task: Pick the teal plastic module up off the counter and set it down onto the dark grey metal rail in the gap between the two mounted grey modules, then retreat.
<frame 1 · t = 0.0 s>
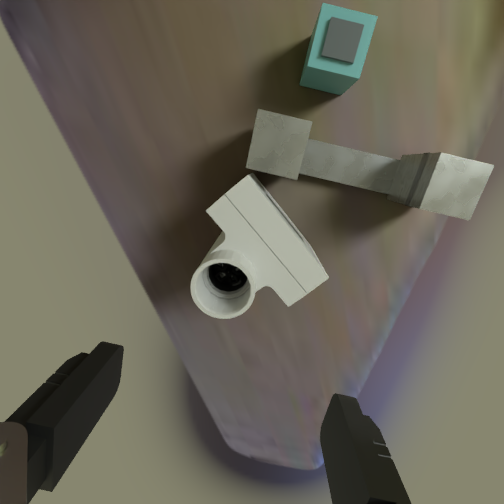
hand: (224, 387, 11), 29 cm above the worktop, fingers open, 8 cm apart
rail: (342, 166, 36), on the worktop
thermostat: (241, 242, 40), on the worktop
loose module: (326, 66, 33), on the worktop
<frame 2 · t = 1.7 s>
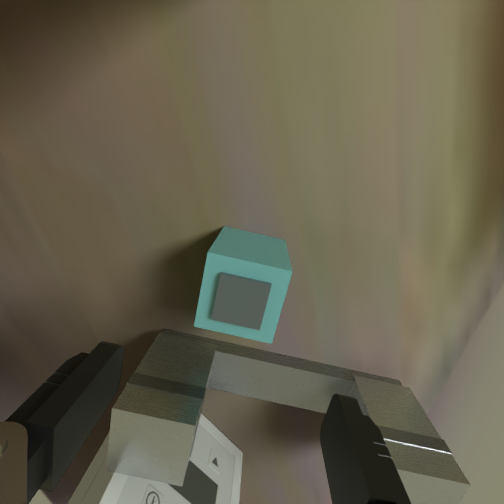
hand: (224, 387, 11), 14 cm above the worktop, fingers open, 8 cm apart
rail: (277, 372, 27), on the worktop
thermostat: (155, 445, 31), on the worktop
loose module: (248, 261, 24), on the worktop
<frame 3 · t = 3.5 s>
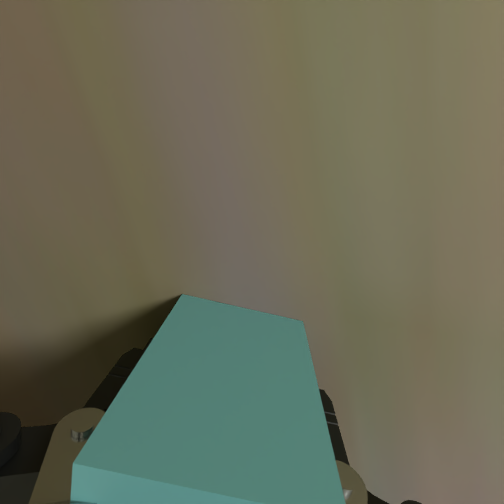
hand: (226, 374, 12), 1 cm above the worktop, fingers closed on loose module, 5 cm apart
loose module: (230, 358, 13), on the worktop, touching gripper
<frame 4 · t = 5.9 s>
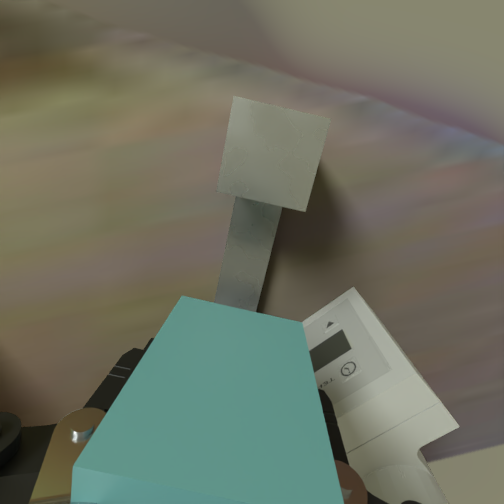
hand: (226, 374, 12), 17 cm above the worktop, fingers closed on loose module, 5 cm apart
rail: (247, 252, 28), on the worktop
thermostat: (342, 367, 31), on the worktop
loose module: (230, 360, 13), point 16 cm above the worktop, touching gripper
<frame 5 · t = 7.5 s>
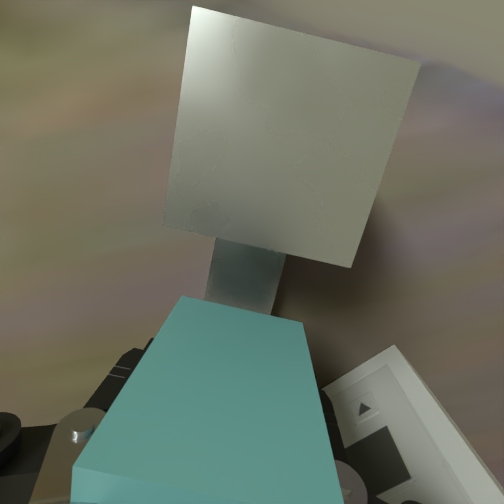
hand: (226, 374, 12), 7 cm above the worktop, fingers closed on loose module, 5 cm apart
rail: (239, 295, 19), on the worktop
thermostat: (373, 449, 22), on the worktop
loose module: (230, 360, 13), point 6 cm above the worktop, touching gripper
when the fingers open (4 cm above the worktop, at t = 8.7 s): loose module drops 1 cm, resting on rail.
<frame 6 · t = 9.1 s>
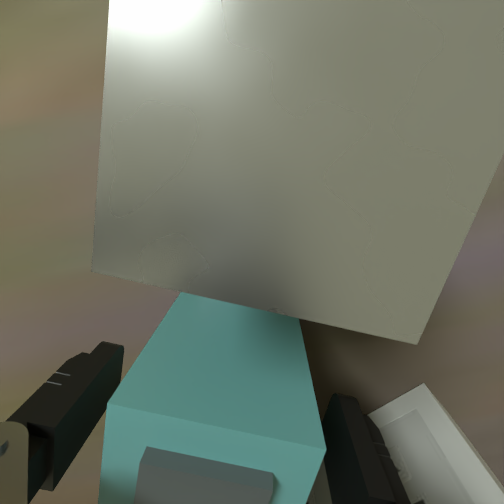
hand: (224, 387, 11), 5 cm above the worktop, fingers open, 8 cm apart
rail: (236, 323, 15), on the worktop
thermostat: (394, 500, 19), on the worktop
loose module: (231, 341, 14), point 1 cm above the worktop, touching rail
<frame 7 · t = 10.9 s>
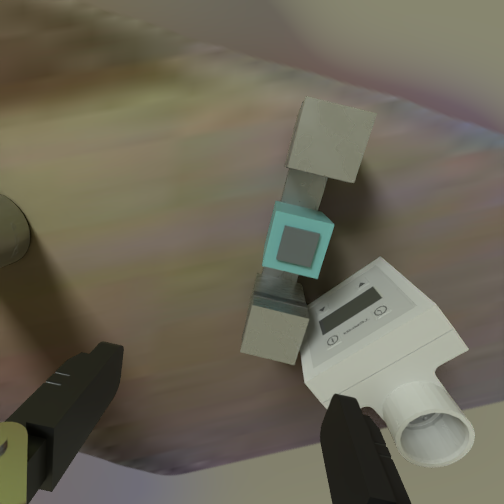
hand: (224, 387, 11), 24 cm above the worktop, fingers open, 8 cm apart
rail: (292, 225, 33), on the worktop
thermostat: (368, 327, 36), on the worktop
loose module: (292, 228, 32), point 1 cm above the worktop, touching rail
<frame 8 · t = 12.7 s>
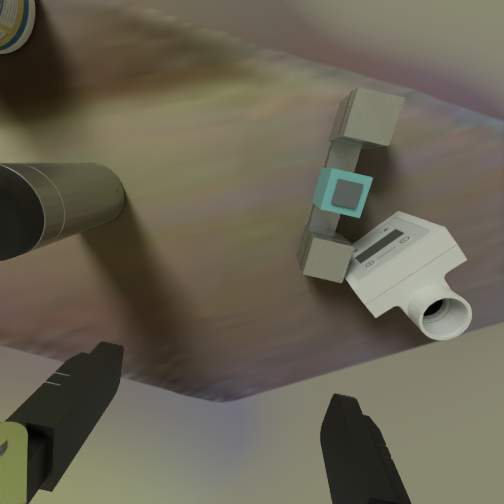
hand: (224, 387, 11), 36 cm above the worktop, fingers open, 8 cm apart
rail: (332, 187, 44), on the worktop
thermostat: (388, 268, 47), on the worktop
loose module: (333, 189, 42), point 1 cm above the worktop, touching rail
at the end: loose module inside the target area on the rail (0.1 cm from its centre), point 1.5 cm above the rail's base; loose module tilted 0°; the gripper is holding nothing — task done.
